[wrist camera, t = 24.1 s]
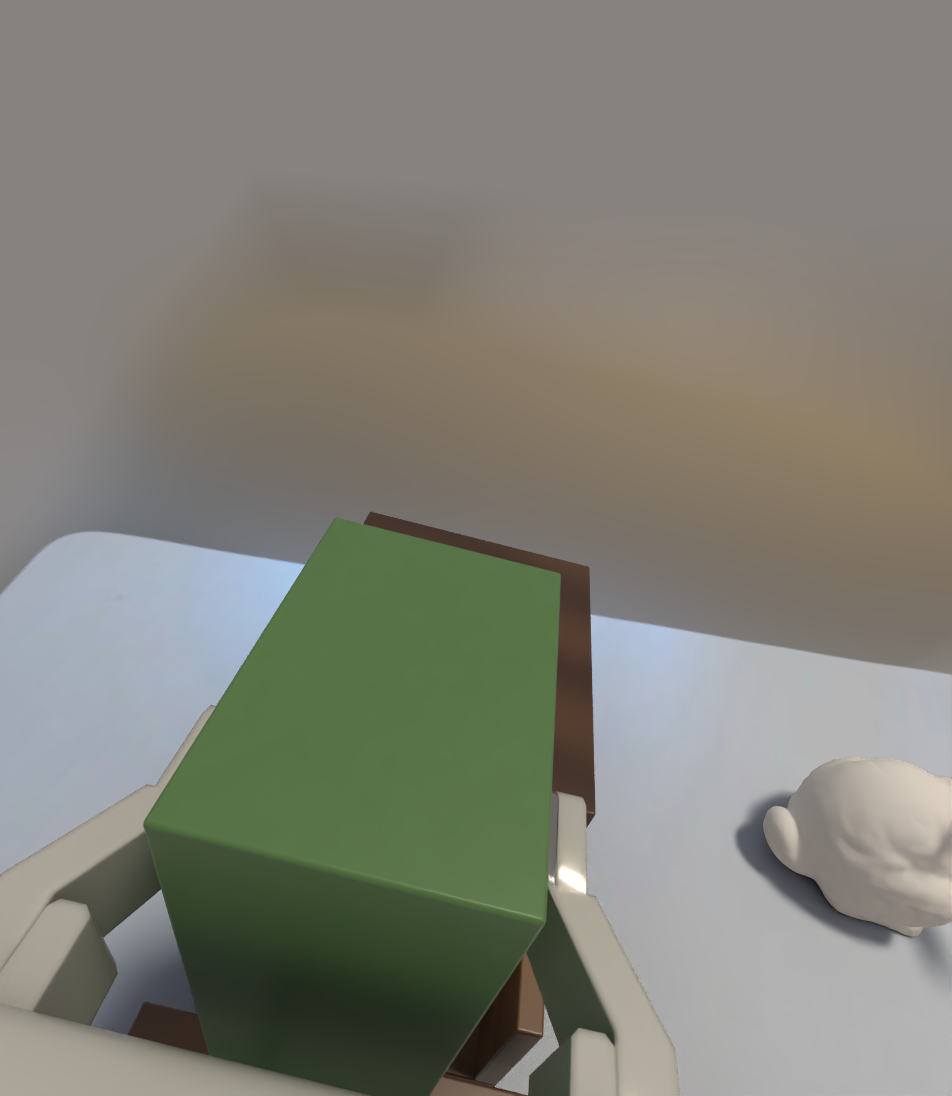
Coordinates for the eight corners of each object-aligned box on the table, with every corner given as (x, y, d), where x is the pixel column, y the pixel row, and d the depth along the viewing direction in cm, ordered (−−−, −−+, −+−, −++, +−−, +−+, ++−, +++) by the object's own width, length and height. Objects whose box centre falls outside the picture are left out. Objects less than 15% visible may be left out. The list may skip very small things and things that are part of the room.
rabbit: (915, 814, 35) (1079, 687, 28) (1029, 1006, 28) (1292, 901, 20) (726, 787, 34) (847, 647, 27) (792, 981, 26) (983, 859, 19)
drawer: (480, 1490, 15) (565, 1569, 10) (38, 1384, 15) (-65, 1418, 10) (529, 806, 29) (573, 719, 25) (310, 751, 29) (315, 654, 25)
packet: (210, 1064, 11) (139, 822, 6) (317, 794, 15) (335, 515, 10) (418, 1116, 11) (547, 926, 6) (464, 831, 15) (562, 572, 10)
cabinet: (530, 916, 26) (595, 814, 21) (258, 849, 26) (252, 729, 21) (545, 672, 38) (589, 566, 33) (357, 625, 38) (370, 511, 32)
